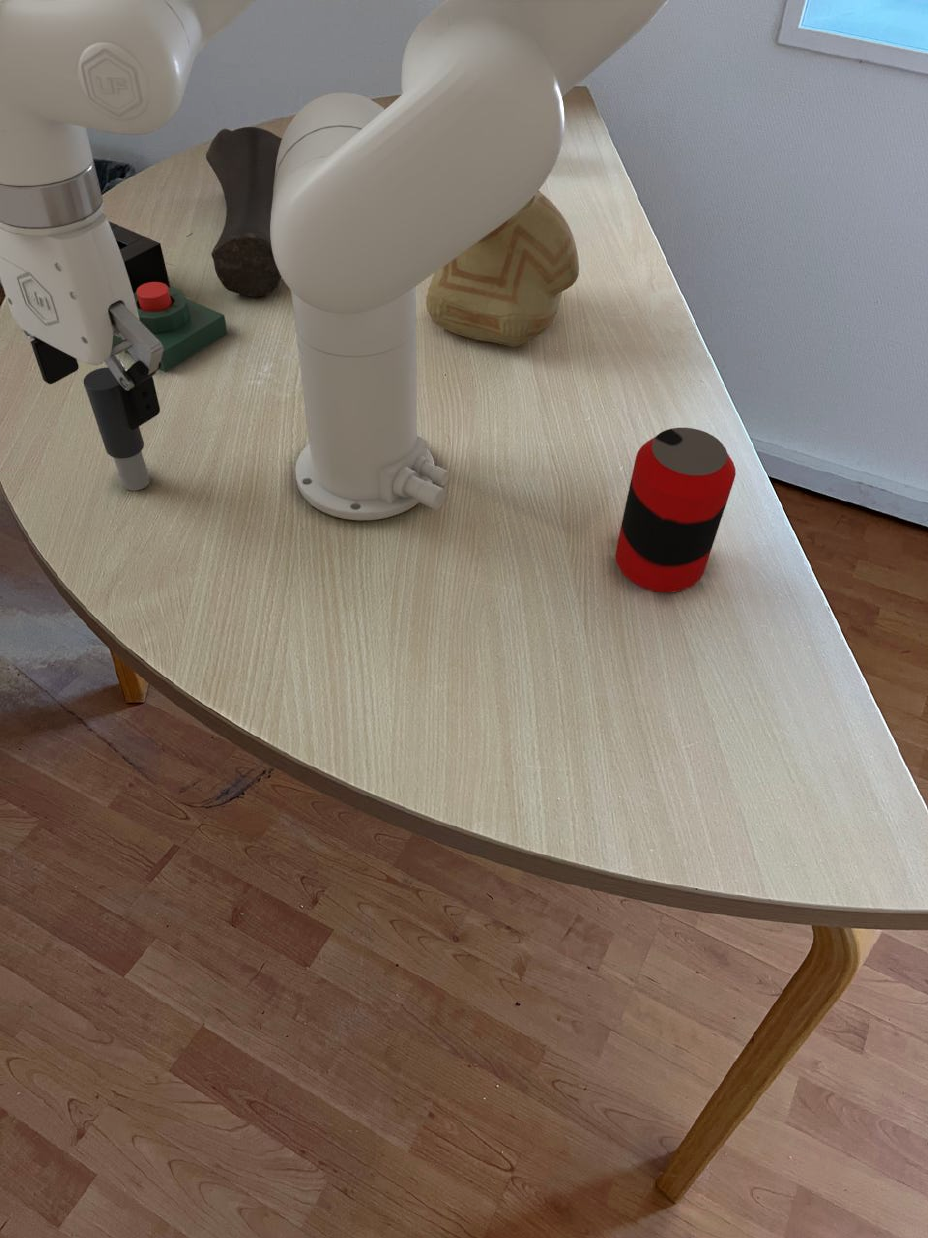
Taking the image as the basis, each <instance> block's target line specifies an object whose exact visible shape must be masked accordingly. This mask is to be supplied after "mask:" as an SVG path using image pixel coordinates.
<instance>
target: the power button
mask: <svg viewBox="0 0 928 1238" xmlns="http://www.w3.org/2000/svg"><path fill="white" fill-rule="evenodd" d="M136 293H137V296H138V300H139V304H140V308H141V309H142V310H143V311H146V312H158V311H163V310H166V309H167V308H169V307H171V305H172V301H171V297H170V293H169V288H168V286H167V285H166V284H164V283H161V282H149V283H145V284H143V285H141V286H139V287H138V288H137V291H136Z"/></svg>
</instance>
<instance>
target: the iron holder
mask: <svg viewBox="0 0 928 1238" xmlns="http://www.w3.org/2000/svg"><path fill="white" fill-rule="evenodd" d="M108 222H109V224H110V227H111V229H112V231H113V234H114V237H115V239H116V242H117V245H118V247H119V250H120V253H121V256H122V259H123V262H124V265H125V268H126V271H127V274H128V277H129V281H130V284H131V287H132V291H133V294H134V293H135V292H136V291H137V288H138V287H139V286H141V285H143V284H145V283H149V282H161V283H164V284H166V285H167V286H168V287H171V284H170V279H169V275H168V271H167V266H166V262H165V258H164V252H163V249H162V244H161V243H160V242H159V241H157V240H155V239H151V238H149V237H147V236H145V235H143V234H140V233H137V232H135V231H132V230H130V229H129V228H125V227H124V226H121V225H118V224H116V223H114V222H112V221H109V220H108Z"/></svg>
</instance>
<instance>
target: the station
mask: <svg viewBox="0 0 928 1238" xmlns="http://www.w3.org/2000/svg"><path fill="white" fill-rule="evenodd" d="M168 288H169V293H170V297H171V301H172V305H171V307H169V308H167V309H166V310H163V311H158V312H146V311H143V310H142V309H141V308H140V304H139V300H138V296H137V293H136V292H135V293H134V298H135V302H136V306H137V310H138V315H139V320H140V322H141V323H142V324H143V325H144V326H145V327H146V328H147V329H148V330H149V331H150V332H151V333H152V334H153V335H154V336H155V337H156V338H157V339H158V340H159V341H160V342H161V343H162V345H163V348H164V350H163V354H162V358H161V368H160V369H159V370H161V371H163V372H168V371H169V370H170V369H172V368H174V367H176V366H177V365H179V364H180V363H182V362H184V361H185V360H187V359H188V358H190V357H192V356H193V355H195V354H196V353H198V352H199V351H201V350H203V349H205V348H206V347H207V346H209V345H211V344H212V343H214V342H216V341H217V340H219V339H220V338H222V337H224V336H225V335H227V334H228V327H227V323H226V318H225V317H226V316H225V314H223V313H221V312H219V311H216V310H215V309H212V308H210V307H207V306H205V305H203V304H201V303H199V302H197V301H195V300H193V299H190V298H188V297H186V296H185V294H184V292H182V291H181V290H179V289H176V288H174V287H171V286H170V287H168ZM121 341H123V340H122V339H121V338H119V337H117V336H115V335H114V336H113V344H112V346H114V345H116V344H118V343H120V342H121ZM124 353H127V354H129V355H130V353H129V352H128V350H127V349H126V350H125V351H124Z"/></svg>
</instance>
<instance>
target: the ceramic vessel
mask: <svg viewBox="0 0 928 1238" xmlns="http://www.w3.org/2000/svg"><path fill="white" fill-rule="evenodd" d="M579 276H580V263H579V254H578V248H577V245H576V241H575V238H574V234H573V232H572V230H571V228H570V225H569V224H568V222H567V220H566V219H565V217H564V215H563V213H562V212H561V211H560V210H559V209H558V208H557V207H556V205H554V203H553V201H551V200H550V199H549V198H548V197H547V196H545V195H544V194H543V193H542V192H541V191H540V189H539V190H538V192H537V193H536V194H535V195H534V196H533V198H532V199H531V200H530V201H529V202H528V203H527V204H526V205H525V206H524V207H523V208H522V209H521V210H520V211H519V212H517V213H516V214H515V215H514V216H512V217H511V218H510V219H509V220H507V221H506V222H505V223H503V224H502V225H501V226H499V227H498V228H497V229H495V230H494V231H492V232H491V233H490V234H488V235H487V236H485V237H484V238H483V239H481V240H480V241H479V242H477V243H476V244H474V245H473V246H472V247H470V248H469V249H467V250H466V251H465V252H463V253H462V254H460V255H459V256H458V257H456V258H455V259H453V260H452V261H451V262H449V263H448V264H446V265H445V266H444V267H442V268H441V269H439V270H438V271H437V272H435V273H434V274H433V275H432V278H431V281H430V283H429V286H428V290H427V294H426V302H425V304H426V310H427V313H428V315H429V316H430V318H431V321H432V323H434V324H435V325H436V326H438V327H439V328H442V329H444V330H447V331H449V332H451V333H453V334H456V335H458V336H462V337H464V338H468V339H473V340H477V341H483V342H489V343H494V344H498V345H499V344H500V345H505V346H508V347H511V348H519V347H521V346H522V344H524V343H526V342H529V341H531V340H533V339H535V338H537V337H538V336H539V335H541V334H542V333H544V332H545V331H546V330H547V329H548V328H549V327H550V325H552V323H553V321H554V319H555V318H556V315H557V313H558V310H559V308H560V303H561V299H562V294H563V292H564V291H566V290H568V289H569V288H571V287H572V286H573V285H574V284H575V283H576V282H577V280H578V278H579Z"/></svg>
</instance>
